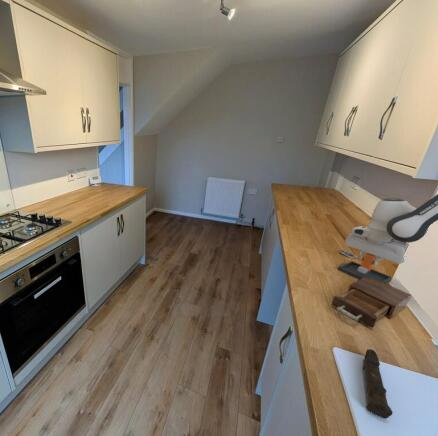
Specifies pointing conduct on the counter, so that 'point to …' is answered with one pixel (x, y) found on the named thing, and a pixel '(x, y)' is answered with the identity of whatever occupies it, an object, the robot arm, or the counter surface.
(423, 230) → the robot arm
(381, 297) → the cabinet
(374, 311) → the drawer
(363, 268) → the orange and white box
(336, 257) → the counter surface
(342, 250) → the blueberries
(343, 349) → the counter surface
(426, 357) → the counter surface
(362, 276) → the tray
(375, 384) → the dark brown elongated piece
